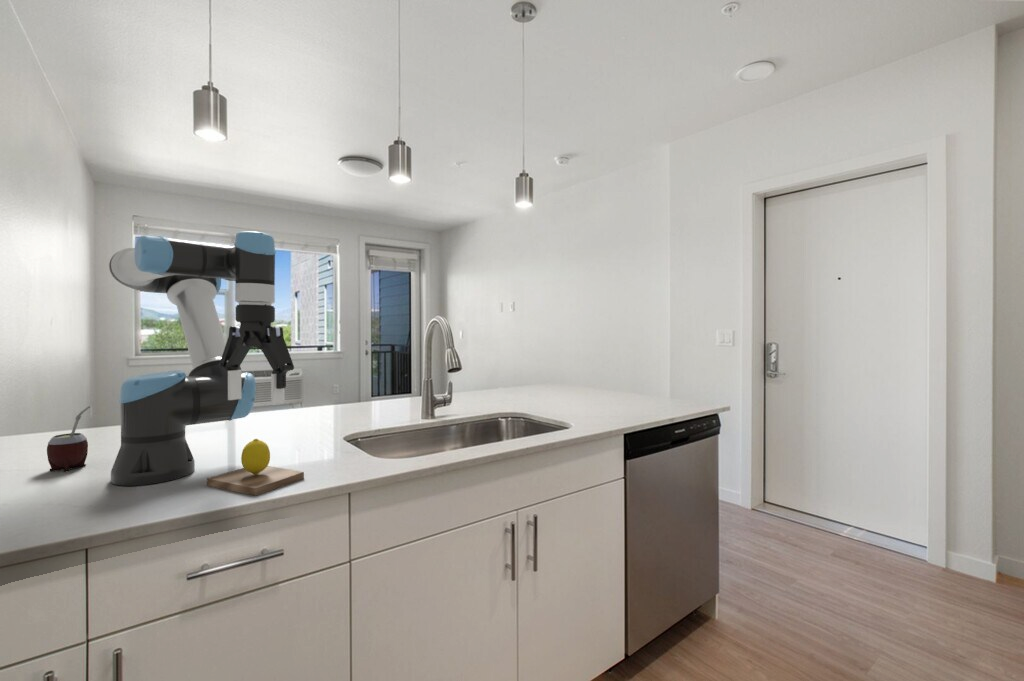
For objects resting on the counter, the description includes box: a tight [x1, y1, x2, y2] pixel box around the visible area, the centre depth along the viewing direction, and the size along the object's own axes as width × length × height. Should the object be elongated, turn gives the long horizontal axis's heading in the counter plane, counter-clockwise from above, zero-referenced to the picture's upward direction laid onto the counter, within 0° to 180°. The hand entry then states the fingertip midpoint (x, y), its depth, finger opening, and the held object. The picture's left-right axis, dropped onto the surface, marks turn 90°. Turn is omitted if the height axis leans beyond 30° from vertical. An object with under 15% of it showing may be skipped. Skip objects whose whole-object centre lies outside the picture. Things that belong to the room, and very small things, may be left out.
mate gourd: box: [46, 406, 91, 473], centre depth 111 cm, size 8×8×15 cm
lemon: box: [240, 438, 271, 475], centre depth 102 cm, size 6×6×8 cm
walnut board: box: [206, 465, 305, 496], centre depth 102 cm, size 15×12×2 cm
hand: (255, 401), depth 102 cm, fingers open, 13 cm apart
